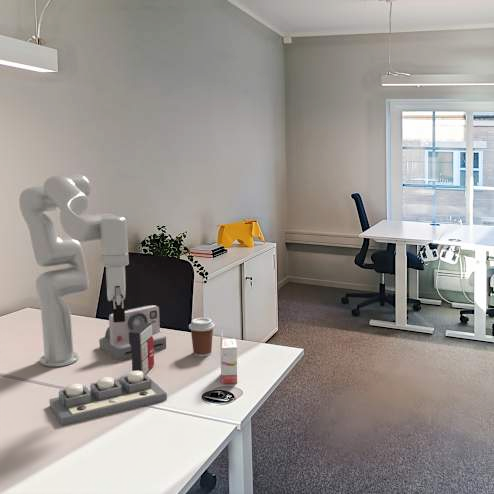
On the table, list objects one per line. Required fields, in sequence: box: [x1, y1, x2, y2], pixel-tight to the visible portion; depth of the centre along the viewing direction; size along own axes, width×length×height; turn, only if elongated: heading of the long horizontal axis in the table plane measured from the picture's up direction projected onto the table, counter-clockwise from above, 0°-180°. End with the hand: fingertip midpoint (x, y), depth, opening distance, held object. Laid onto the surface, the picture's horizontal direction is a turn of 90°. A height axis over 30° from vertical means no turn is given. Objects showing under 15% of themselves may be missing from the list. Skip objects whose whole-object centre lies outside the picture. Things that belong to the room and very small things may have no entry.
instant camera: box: [99, 304, 167, 361], centre depth 215 cm, size 21×21×15 cm
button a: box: [65, 383, 84, 398], centre depth 167 cm, size 5×5×2 cm
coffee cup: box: [188, 317, 216, 357], centre depth 209 cm, size 9×9×12 cm
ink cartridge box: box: [220, 330, 238, 385], centre depth 186 cm, size 9×5×15 cm, turn 5°
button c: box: [126, 370, 143, 384], centre depth 176 cm, size 5×5×2 cm
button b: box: [96, 376, 115, 391], centre depth 172 cm, size 5×5×2 cm
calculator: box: [129, 323, 155, 375], centre depth 192 cm, size 11×4×15 cm, turn 168°
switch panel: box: [49, 373, 168, 426], centre depth 170 cm, size 14×30×4 cm, turn 121°
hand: (118, 317), depth 173 cm, fingers open, 9 cm apart
